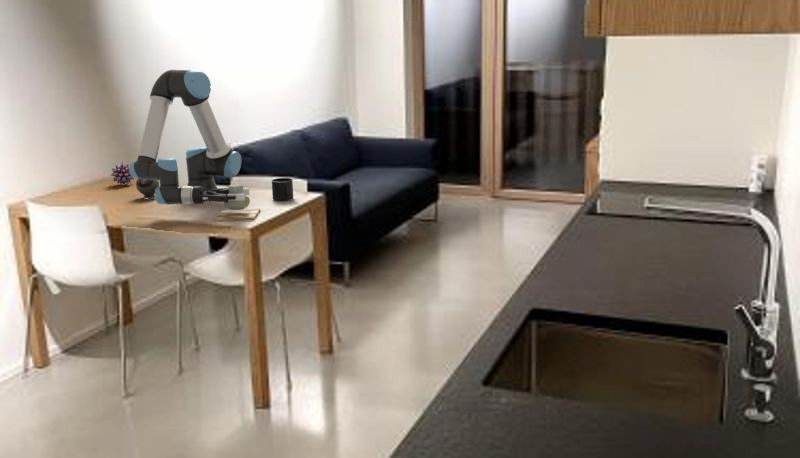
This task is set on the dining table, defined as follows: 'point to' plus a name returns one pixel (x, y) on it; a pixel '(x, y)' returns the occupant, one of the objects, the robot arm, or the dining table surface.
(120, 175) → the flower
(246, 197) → the air freshener
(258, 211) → the coaster board
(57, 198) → the dining table surface
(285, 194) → the mug
